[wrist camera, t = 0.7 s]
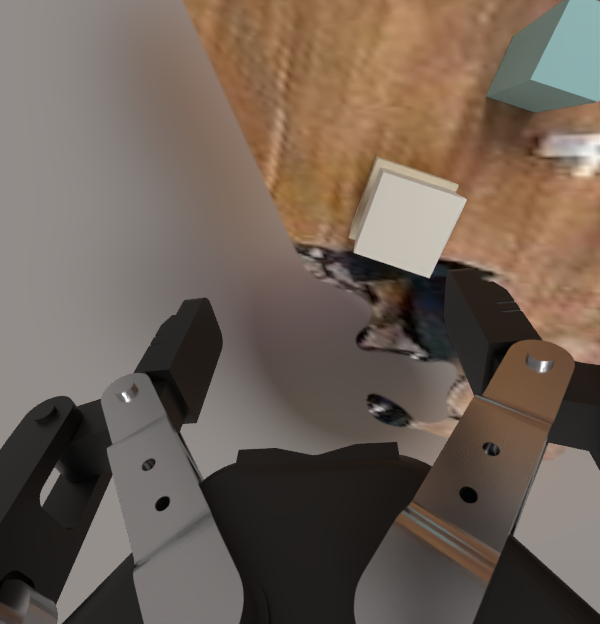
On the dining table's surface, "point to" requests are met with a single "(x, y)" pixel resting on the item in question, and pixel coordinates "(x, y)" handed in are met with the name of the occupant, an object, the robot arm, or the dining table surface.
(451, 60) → the dining table surface
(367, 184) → the beech block
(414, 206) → the cream block
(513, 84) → the teal block
